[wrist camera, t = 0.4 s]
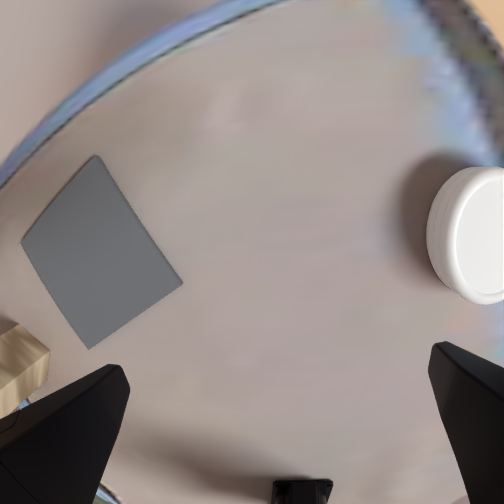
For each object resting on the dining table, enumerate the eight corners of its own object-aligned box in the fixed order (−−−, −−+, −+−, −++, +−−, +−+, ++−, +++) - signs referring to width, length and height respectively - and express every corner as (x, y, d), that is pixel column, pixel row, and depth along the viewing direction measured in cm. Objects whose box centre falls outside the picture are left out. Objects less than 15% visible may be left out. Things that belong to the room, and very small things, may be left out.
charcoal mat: (183, 282, 23) (180, 285, 22) (91, 346, 26) (88, 349, 25) (99, 156, 22) (94, 155, 21) (24, 241, 24) (20, 243, 24)
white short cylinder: (400, 254, 21) (418, 266, 18) (458, 141, 19) (482, 136, 15) (480, 310, 21) (501, 327, 18) (530, 212, 19) (554, 217, 15)
